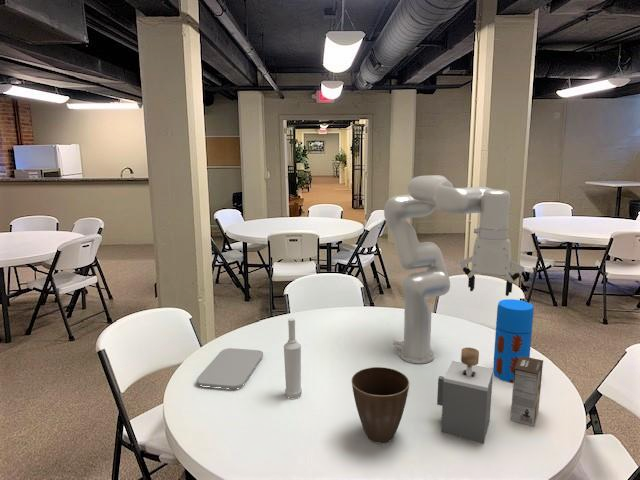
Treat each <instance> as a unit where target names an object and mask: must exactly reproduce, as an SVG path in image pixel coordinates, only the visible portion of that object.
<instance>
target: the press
mask: <svg viewBox="0 0 640 480" xmlns="http://www.w3.org/2000/svg"><path fill="white" fill-rule="evenodd" d="M466 368H467V365H466V364H464V363H462V362H461V361H455V360H452V361H451V362H450V364H449V366H448V368H447V370H446V373H445V374H444V376H443V375H441V376H440V375H439V376H438V378H437V397H436V406H440V407H441V426H440V428H441V429H440V433H443V434H446V435H449V436H453V437H458V438H460V439H464V440H466V441H467V440H468V441H470V442H474V443H479V444H482V445H484V444H485V441H486V437H487V432H488V430H489V426H490V425H489V424H490V422H491V421H490V420H491V410H492V409H491V408H492V407H491V406H492V396H493V395H492V394H493V380H494V368H492V367H491V368H490V367H485V366H482V365H473V366H472V377H471V376H466Z"/></svg>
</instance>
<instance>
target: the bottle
mask: <svg viewBox="0 0 640 480" xmlns="http://www.w3.org/2000/svg"><path fill="white" fill-rule="evenodd" d="M287 320H288V322H287V325H288V326H287V327H288V340H287V342H286V343H284V345H283V354H284V355H283V357H284V359H283V360H284V373H285V374H284V376H285V377H284V379H285V389H284V393H285V396H287V397H286V398H288V397H289V398H288V399H290V398H297V399H299V398H300V397H302V390H303V389H302V385H301V384H302V376H301V375H302V374H301V373H302V367H301V366H302V360H301V358H302V356H301V355H302V354H301V353H302V352H301V351H302V349H301V348H302V345H301V343H299V342H298V341H297V339H296V319H295V318H293V317H292V318H288V319H287ZM298 397H299V398H298Z"/></svg>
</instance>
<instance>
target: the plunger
mask: <svg viewBox="0 0 640 480" xmlns="http://www.w3.org/2000/svg"><path fill="white" fill-rule="evenodd" d="M460 352H461V354H460V356H461V358H460V362H461V363H464V364H466V365H467V368H466V376H471V377H472V366H473V365H476V366H478V364H479V361H480V359H479V357H480V351H479V350H478V349H476V348H473V347H463V348H462V349H461V351H460Z"/></svg>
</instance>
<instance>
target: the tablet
mask: <svg viewBox="0 0 640 480" xmlns="http://www.w3.org/2000/svg"><path fill="white" fill-rule="evenodd" d="M262 358H264V351H262V350H259V349H247V348H246V349H245V348H232V347H231V348H230V347H229V348H225V349H222V350H221V351H220V352H218V354H217V355H216V356H215V357H214V359H212V360H211V362H210V363H209V364H208V365H206V367H205V369H204V370H202V372H201V373H200V374H199V375H198V376H197V378H196V383H197V384H200V385H202V386H210V387H221V388H229V389H237V388H240V387H242V386H243V387H244V385H245V384H246V383H247V381H248V379H249V378H250V377H249V376H251V375H252V374H253V372H254V371H255V369H256V368H257V366H258V365H257V364H259V363H260V362H261V360H262ZM259 361H260V362H259ZM255 367H256V368H255ZM253 370H254V371H253ZM251 373H252V374H251ZM244 383H245V384H244ZM243 384H244V385H243ZM200 385H199V386H200ZM243 387H242V388H243ZM240 389H241V388H240Z"/></svg>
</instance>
